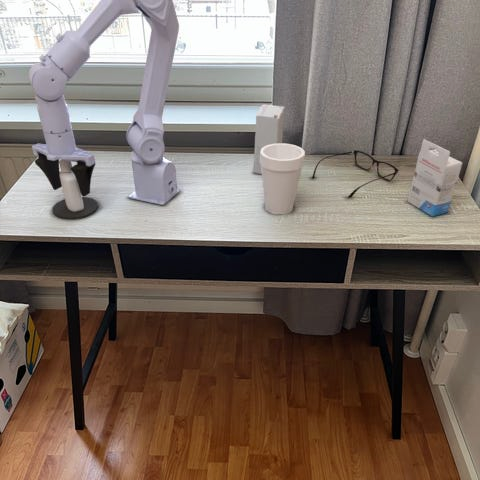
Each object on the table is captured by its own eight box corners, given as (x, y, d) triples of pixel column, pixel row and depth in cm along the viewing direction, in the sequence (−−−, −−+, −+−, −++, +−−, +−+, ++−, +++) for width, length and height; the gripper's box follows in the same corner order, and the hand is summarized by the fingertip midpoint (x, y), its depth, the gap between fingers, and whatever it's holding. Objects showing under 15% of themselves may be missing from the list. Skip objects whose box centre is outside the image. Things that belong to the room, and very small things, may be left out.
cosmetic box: (259, 161, 134) (261, 103, 124) (281, 163, 133) (285, 105, 123) (253, 174, 127) (254, 114, 118) (276, 176, 126) (279, 116, 117)
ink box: (449, 212, 112) (468, 148, 103) (432, 217, 110) (450, 152, 101) (423, 197, 118) (439, 134, 109) (406, 201, 116) (421, 138, 107)
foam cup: (271, 221, 109) (274, 163, 100) (251, 203, 115) (252, 148, 107) (307, 211, 112) (313, 155, 104) (286, 195, 118) (290, 140, 110)
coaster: (107, 203, 115) (106, 201, 115) (80, 223, 108) (79, 221, 108) (71, 195, 118) (71, 193, 118) (43, 214, 111) (42, 212, 111)
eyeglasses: (399, 184, 123) (403, 169, 121) (353, 201, 116) (356, 185, 114) (352, 162, 133) (354, 147, 131) (307, 176, 127) (308, 161, 124)
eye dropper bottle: (87, 200, 115) (76, 149, 107) (82, 212, 110) (71, 160, 103) (68, 201, 115) (55, 149, 107) (62, 213, 110) (49, 160, 103)
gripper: (15, 130, 101) (33, 192, 109) (74, 140, 96) (87, 205, 105) (39, 119, 106) (54, 179, 114) (96, 129, 101) (107, 191, 110)
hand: (71, 191), depth 110 cm, fingers open, 7 cm apart
